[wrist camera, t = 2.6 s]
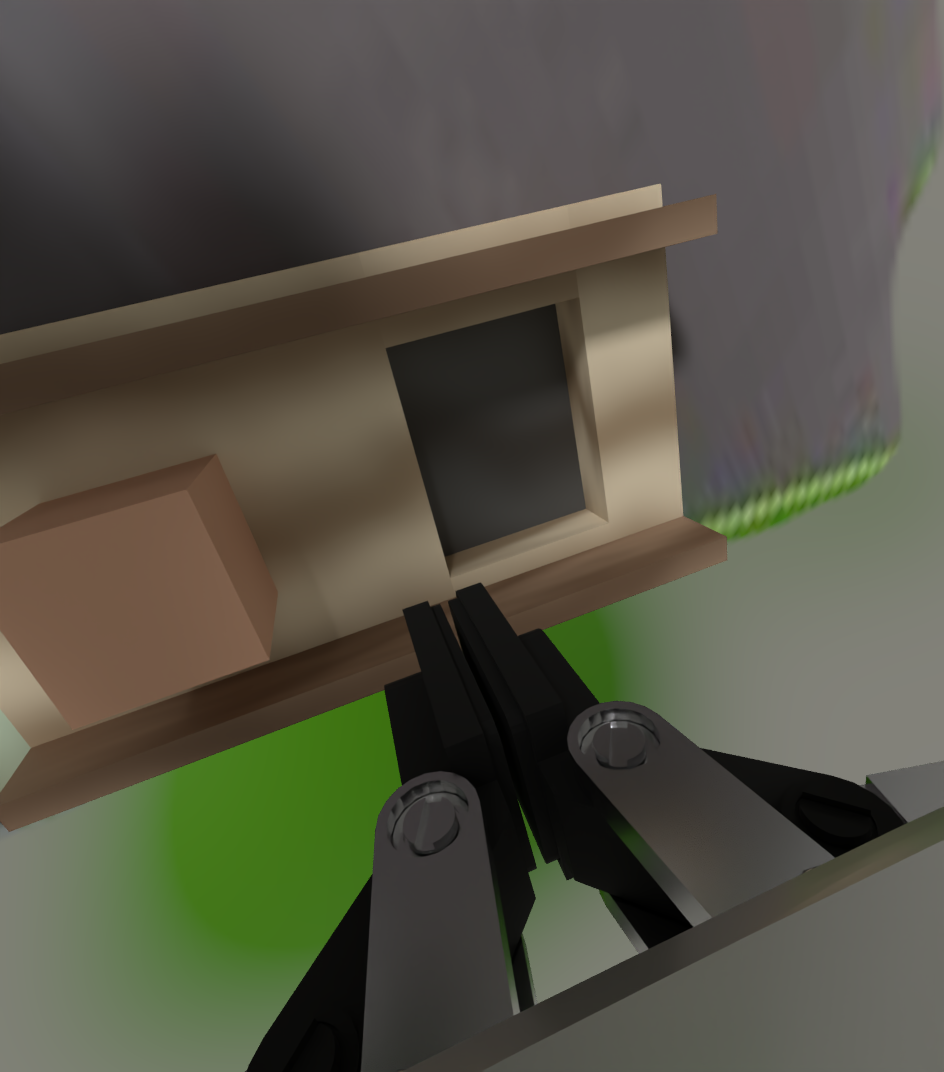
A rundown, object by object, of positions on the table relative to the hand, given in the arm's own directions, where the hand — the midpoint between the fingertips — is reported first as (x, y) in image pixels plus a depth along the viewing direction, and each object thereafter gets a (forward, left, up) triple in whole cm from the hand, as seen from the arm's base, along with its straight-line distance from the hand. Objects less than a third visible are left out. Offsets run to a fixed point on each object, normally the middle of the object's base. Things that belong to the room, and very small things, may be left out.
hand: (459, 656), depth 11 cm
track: (0, -6, -14) cm, 16 cm away
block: (0, -8, -12) cm, 14 cm away
